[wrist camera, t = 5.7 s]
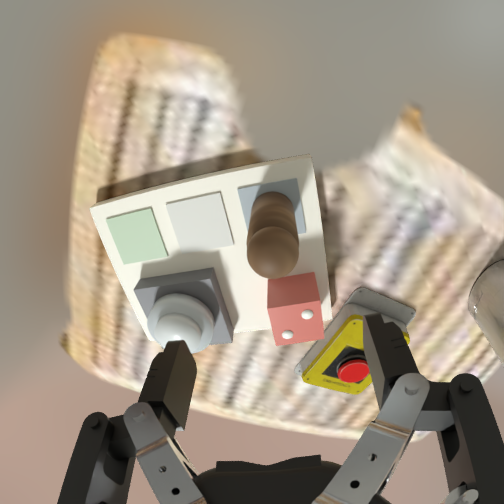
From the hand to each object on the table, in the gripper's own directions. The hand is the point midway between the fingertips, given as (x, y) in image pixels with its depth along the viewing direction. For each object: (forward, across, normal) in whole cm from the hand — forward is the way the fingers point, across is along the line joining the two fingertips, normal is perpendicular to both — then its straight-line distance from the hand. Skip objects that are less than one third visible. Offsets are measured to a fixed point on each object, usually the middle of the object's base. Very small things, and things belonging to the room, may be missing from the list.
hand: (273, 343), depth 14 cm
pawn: (+15, 0, 0) cm, 16 cm away
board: (+17, +6, +4) cm, 19 cm away
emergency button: (+18, -7, +19) cm, 27 cm away
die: (+16, 0, +9) cm, 18 cm away
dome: (+15, +10, +8) cm, 20 cm away
